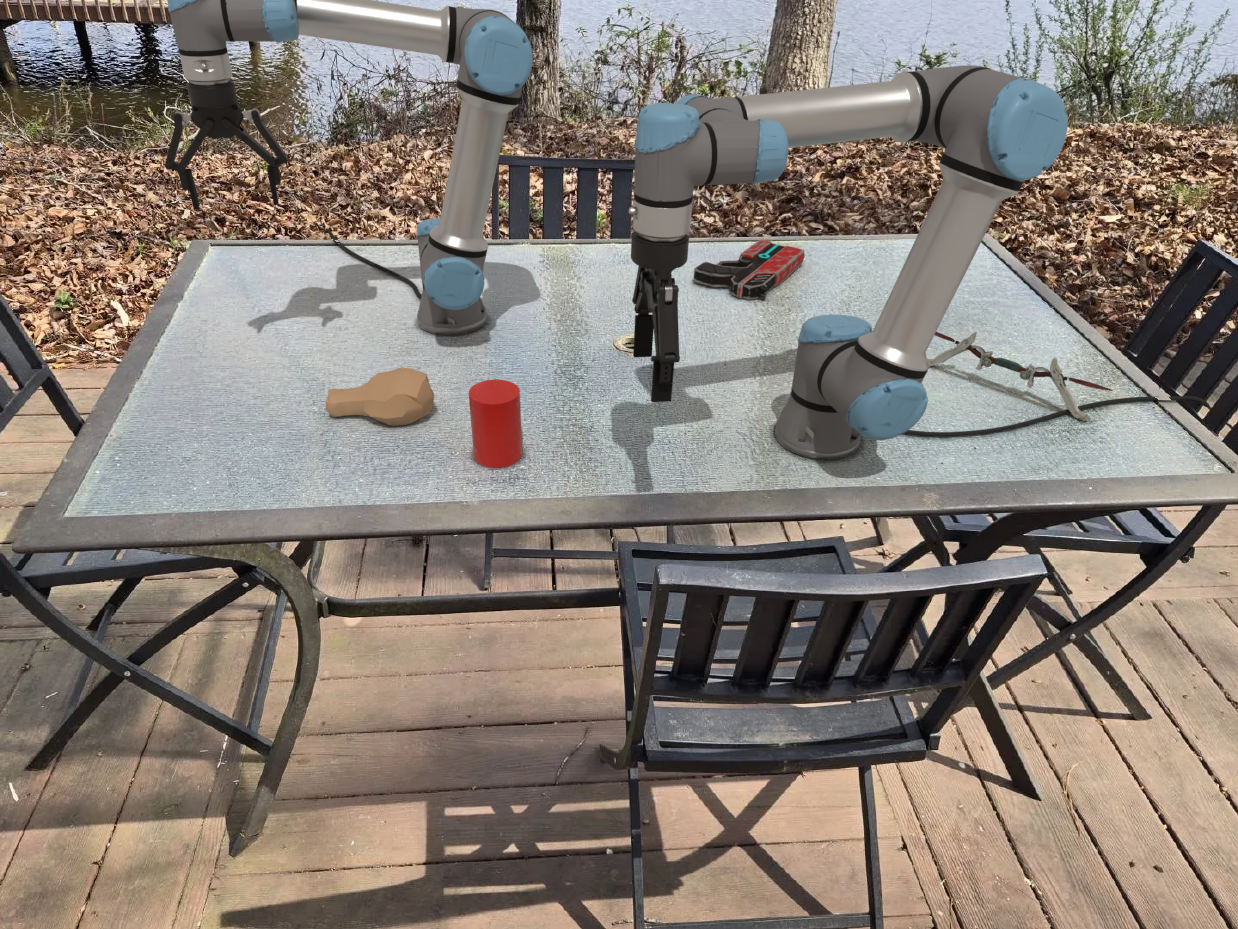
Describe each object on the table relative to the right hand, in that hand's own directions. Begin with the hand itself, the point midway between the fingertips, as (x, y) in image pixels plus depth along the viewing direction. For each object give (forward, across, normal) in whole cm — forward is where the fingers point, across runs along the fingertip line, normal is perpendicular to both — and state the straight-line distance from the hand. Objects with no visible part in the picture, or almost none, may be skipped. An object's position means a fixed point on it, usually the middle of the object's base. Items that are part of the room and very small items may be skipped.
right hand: (651, 377), depth 126 cm
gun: (+24, -96, +46) cm, 109 cm away
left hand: (-7, -60, -66) cm, 89 cm away
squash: (+25, -36, -42) cm, 61 cm away
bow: (+23, -31, +79) cm, 88 cm away
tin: (+25, -20, -22) cm, 39 cm away
